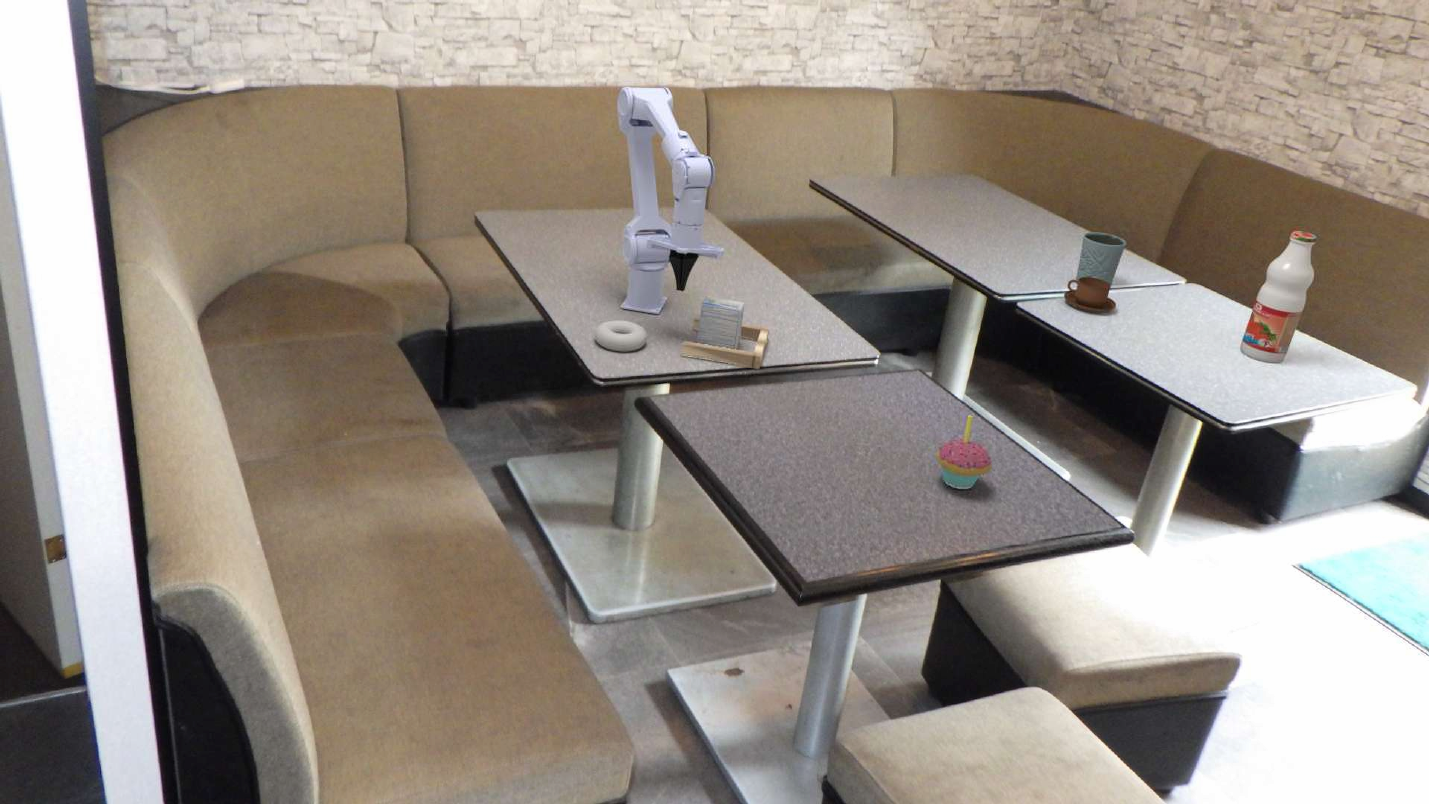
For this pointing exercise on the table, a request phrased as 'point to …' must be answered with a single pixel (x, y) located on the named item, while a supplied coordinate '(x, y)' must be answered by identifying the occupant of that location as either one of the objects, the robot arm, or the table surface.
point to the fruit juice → (1280, 301)
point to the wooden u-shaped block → (730, 354)
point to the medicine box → (720, 322)
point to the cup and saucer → (1090, 295)
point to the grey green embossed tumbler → (1100, 256)
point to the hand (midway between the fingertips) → (680, 289)
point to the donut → (620, 336)
